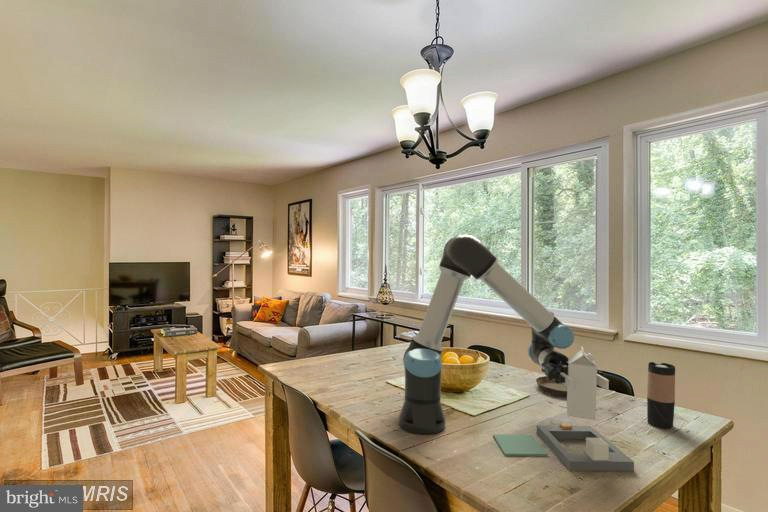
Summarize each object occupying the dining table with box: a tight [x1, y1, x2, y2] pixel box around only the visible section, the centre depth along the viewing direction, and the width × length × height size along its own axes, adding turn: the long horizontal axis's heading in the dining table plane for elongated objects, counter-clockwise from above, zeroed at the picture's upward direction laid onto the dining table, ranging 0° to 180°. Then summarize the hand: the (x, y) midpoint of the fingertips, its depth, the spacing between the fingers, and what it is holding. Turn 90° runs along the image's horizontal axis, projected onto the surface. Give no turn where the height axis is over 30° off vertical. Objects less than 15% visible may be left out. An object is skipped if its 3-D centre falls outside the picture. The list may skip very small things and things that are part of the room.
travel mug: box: [646, 361, 676, 430], centre depth 137 cm, size 8×8×20 cm
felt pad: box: [492, 433, 549, 457], centre depth 120 cm, size 12×12×1 cm
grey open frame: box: [536, 423, 635, 472], centre depth 118 cm, size 17×22×7 cm
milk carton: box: [566, 345, 598, 421], centre depth 118 cm, size 7×7×19 cm
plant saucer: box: [535, 375, 567, 398], centre depth 170 cm, size 21×21×3 cm
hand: (589, 384), depth 114 cm, fingers closed on milk carton, 9 cm apart
